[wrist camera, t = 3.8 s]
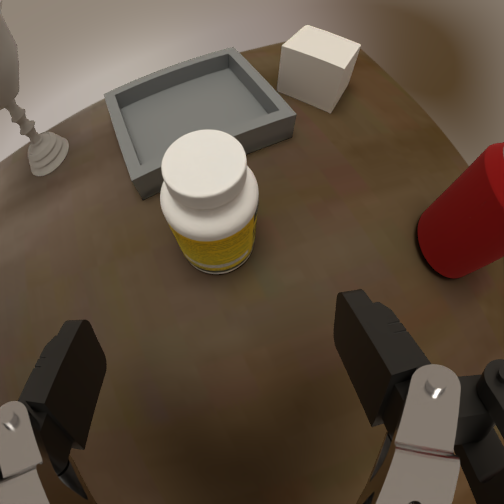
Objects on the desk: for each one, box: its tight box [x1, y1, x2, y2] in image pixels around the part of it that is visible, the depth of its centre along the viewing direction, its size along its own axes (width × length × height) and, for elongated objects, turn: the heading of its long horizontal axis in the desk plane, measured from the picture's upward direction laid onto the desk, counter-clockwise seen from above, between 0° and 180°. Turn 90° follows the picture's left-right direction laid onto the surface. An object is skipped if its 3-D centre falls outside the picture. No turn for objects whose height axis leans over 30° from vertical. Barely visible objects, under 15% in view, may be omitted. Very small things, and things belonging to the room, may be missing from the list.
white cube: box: [277, 25, 361, 114], centre depth 26 cm, size 6×6×6 cm
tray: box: [104, 47, 296, 200], centre depth 25 cm, size 14×12×3 cm
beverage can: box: [418, 142, 504, 278], centre depth 17 cm, size 7×7×12 cm
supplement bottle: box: [160, 129, 259, 274], centre depth 18 cm, size 5×5×10 cm
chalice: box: [0, 0, 69, 176], centre depth 17 cm, size 7×7×18 cm
